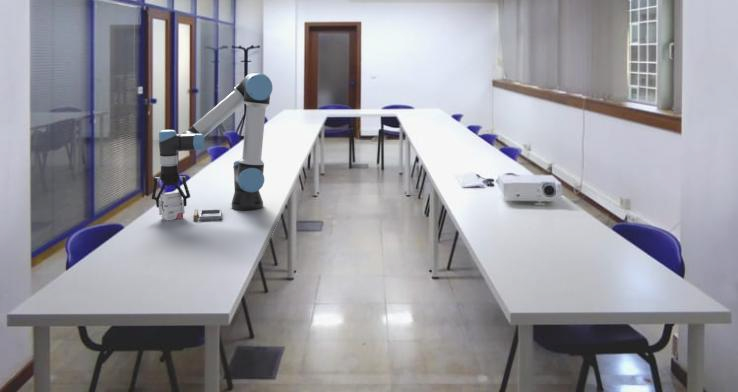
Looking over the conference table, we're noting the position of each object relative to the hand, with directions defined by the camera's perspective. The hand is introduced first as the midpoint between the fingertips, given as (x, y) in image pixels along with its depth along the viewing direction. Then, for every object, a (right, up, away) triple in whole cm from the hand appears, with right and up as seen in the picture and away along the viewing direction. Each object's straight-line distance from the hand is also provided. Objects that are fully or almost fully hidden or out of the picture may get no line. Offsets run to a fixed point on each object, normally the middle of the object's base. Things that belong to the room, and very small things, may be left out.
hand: (172, 213), depth 321 cm
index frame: (+17, -2, +3) cm, 17 cm away
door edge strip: (+10, -2, +1) cm, 11 cm away
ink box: (0, -2, 0) cm, 2 cm away
